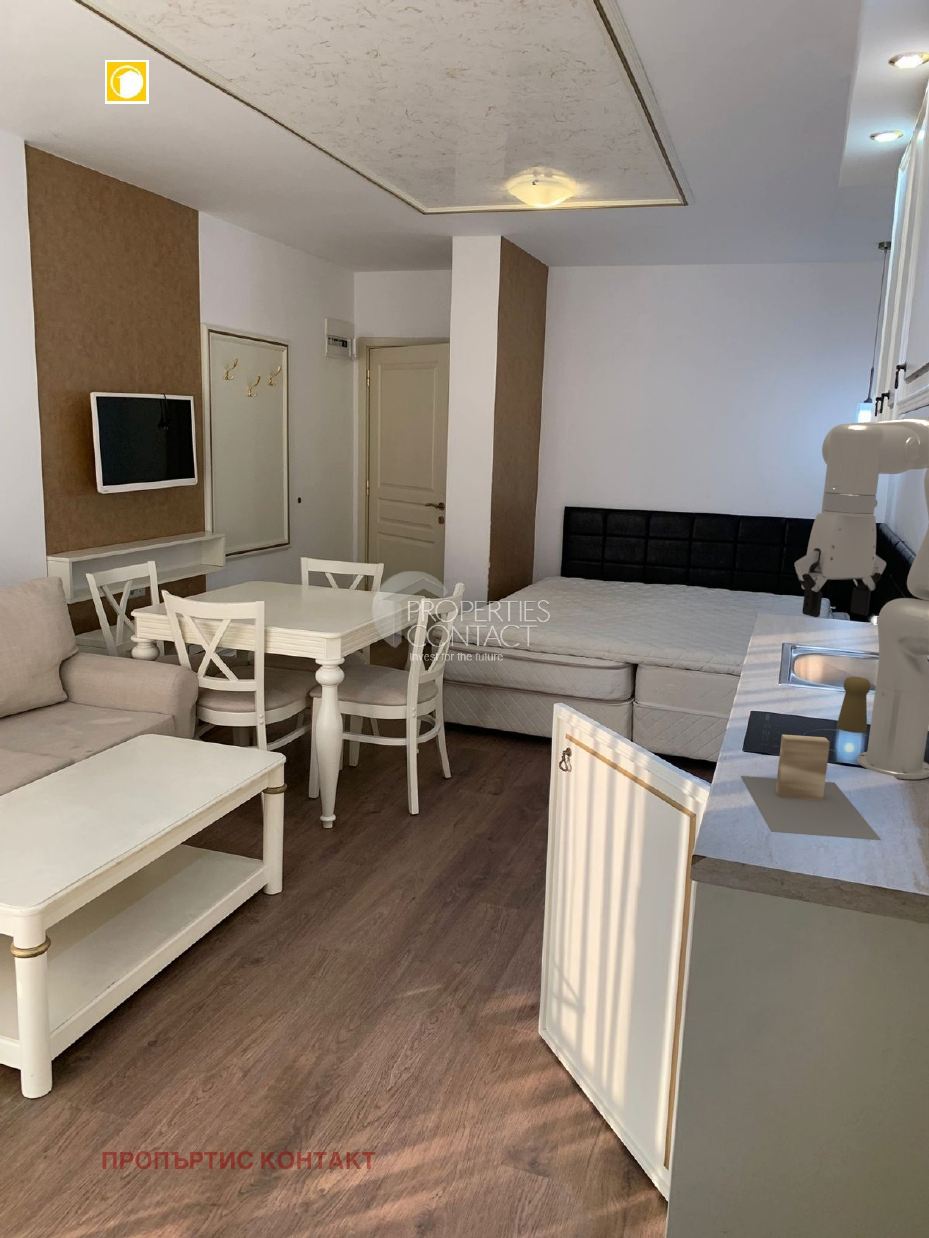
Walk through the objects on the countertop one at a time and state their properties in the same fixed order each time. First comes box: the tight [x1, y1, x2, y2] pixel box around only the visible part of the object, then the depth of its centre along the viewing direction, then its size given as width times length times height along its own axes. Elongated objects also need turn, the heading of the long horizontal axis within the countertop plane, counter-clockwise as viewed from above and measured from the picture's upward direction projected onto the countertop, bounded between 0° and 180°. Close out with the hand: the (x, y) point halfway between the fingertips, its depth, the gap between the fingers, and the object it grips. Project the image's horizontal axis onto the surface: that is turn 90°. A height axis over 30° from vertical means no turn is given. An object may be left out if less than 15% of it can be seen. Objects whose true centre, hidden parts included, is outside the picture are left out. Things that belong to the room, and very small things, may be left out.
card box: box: [776, 734, 831, 801], centre depth 154 cm, size 3×7×10 cm, turn 84°
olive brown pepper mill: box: [836, 676, 871, 734], centre depth 196 cm, size 6×6×11 cm
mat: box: [740, 775, 882, 841], centre depth 151 cm, size 24×16×1 cm, turn 174°
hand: (835, 614), depth 147 cm, fingers open, 9 cm apart
